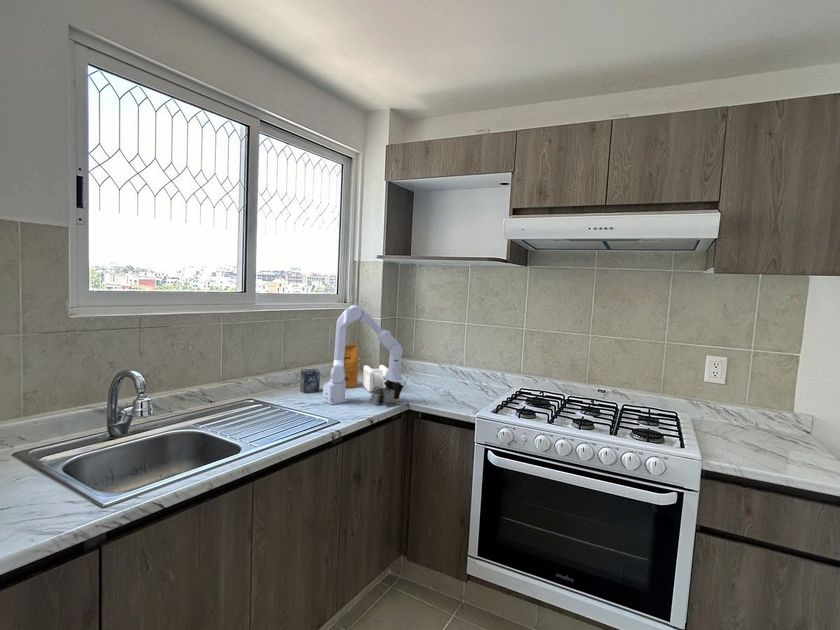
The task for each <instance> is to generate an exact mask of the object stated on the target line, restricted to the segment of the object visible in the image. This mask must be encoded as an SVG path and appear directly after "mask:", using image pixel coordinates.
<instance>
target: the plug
mask: <svg viewBox="0 0 840 630" xmlns="http://www.w3.org/2000/svg"><path fill="white" fill-rule="evenodd" d="M393 390H394V389H393ZM370 395H371V396H370V398H371V401H370V404H371V405H372V406H375V405H376V406H379V405H382V403H383V400H379V395H378V394H373V393H371V394H370ZM400 395H401V394H400ZM400 395H399V399H394V403H397V402H400V397H401V396H400ZM396 401H397V402H396Z"/></svg>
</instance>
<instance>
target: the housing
mask: <svg viewBox="0 0 840 630" xmlns="http://www.w3.org/2000/svg"><path fill="white" fill-rule="evenodd" d="M384 390H385V391H384ZM387 391H388V392H387ZM394 393H395V390H393V389H390V388H387V387H383V386H379V387H375V389H374V388H373V390H372V394H378V395H379V400H383V406H384V405H385V406H384V407H386V408H387V407H388V408H392V406H393V407H397V406H396V405H398V403H397V402H394ZM369 401H370V402H371V397H370V398H369Z"/></svg>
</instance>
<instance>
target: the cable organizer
mask: <svg viewBox="0 0 840 630" xmlns="http://www.w3.org/2000/svg"><path fill="white" fill-rule="evenodd" d="M378 367H379V368H371V366H369V365H364V366H363V371H362V372H363V375H362V376H363V377H362V385H363V387H364V388H365V390H367V392H368V393H371V392H373V389H376V388H378V387H379V386H383V387H386V386H385V384H384V382H386V381H387V380H383V376H384V375H387V376H388V373H389V367H387V366H385V365H384V364H379V366H378ZM384 392H386V391H385V390H384Z"/></svg>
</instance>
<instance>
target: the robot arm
mask: <svg viewBox="0 0 840 630" xmlns="http://www.w3.org/2000/svg"><path fill="white" fill-rule="evenodd" d="M357 320H359V321H360V322H363V323H365V324H367V326H368V327H369V328H371V330H373V332H375V333H376V335H377V337H376V338H377V340H378V342H380V343H381V344H382V345H383V346H384V348H386V349H388V352H389V359H388V370H389V373H388V376H387V375H384V376H383V380H387V381H386V382H384V384H385V386H386V387H387V388H390V389H394V390H395V393H394V399H399V395H401V393H402V390H403V388H404V386H407V380H405V379H403V377H402V356H403V353H404V349H403V346H402V344H400V342H399V340H398V339H396V338H395V337H394V336H393V335H392V334H391V333H392V332H391V331H389V330H387V329H382V328H381V326H380V325H379V324H378V323H377V322H376V321H375V320H374V319H373V317H371V315H370V314H369V313H367V312H366V311H365V310H364V309H362V308H361V307H360V306H359V305H357V304H352V305H350V306H348V307H346V308H345V310H344V311H343V312H342V313H341V315H339V317H338V318H337V320H336V327H335V340H334V342H335V343H334V354H333V355H334V356H333V361H334V365H333V364H332V367H331V370H330V379H329V380H328V382H325V383H324V384H323V388H322V399H321V401H323V402H324V403H327V404H330V405H335V404H341V403H346V402H347V403H348V402H349V401H350V400H349V399H347V398H346V388H345V387H346V380H345V370H344V354H345V345H346V339H347V337H346V336H347V328H348V326H349V325H350V324H352V322H356V321H357ZM386 392H388V391H386Z"/></svg>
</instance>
